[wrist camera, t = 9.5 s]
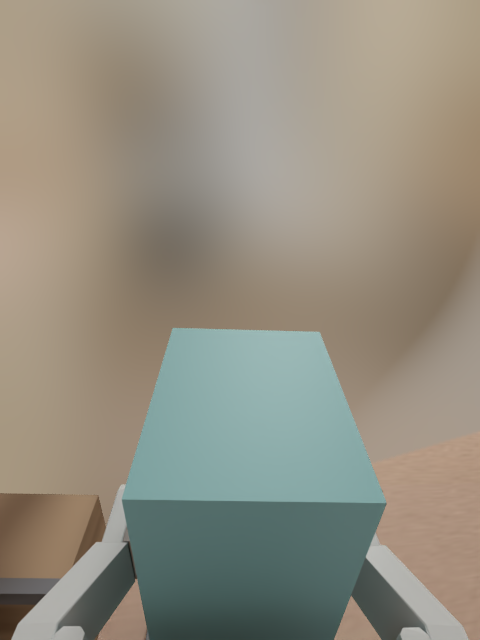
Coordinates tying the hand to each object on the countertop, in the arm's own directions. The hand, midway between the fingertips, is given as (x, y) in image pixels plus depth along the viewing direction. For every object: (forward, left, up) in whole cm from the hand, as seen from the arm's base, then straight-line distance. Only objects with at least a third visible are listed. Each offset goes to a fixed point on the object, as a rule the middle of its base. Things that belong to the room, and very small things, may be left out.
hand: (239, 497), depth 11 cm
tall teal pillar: (0, -1, -7) cm, 7 cm away
